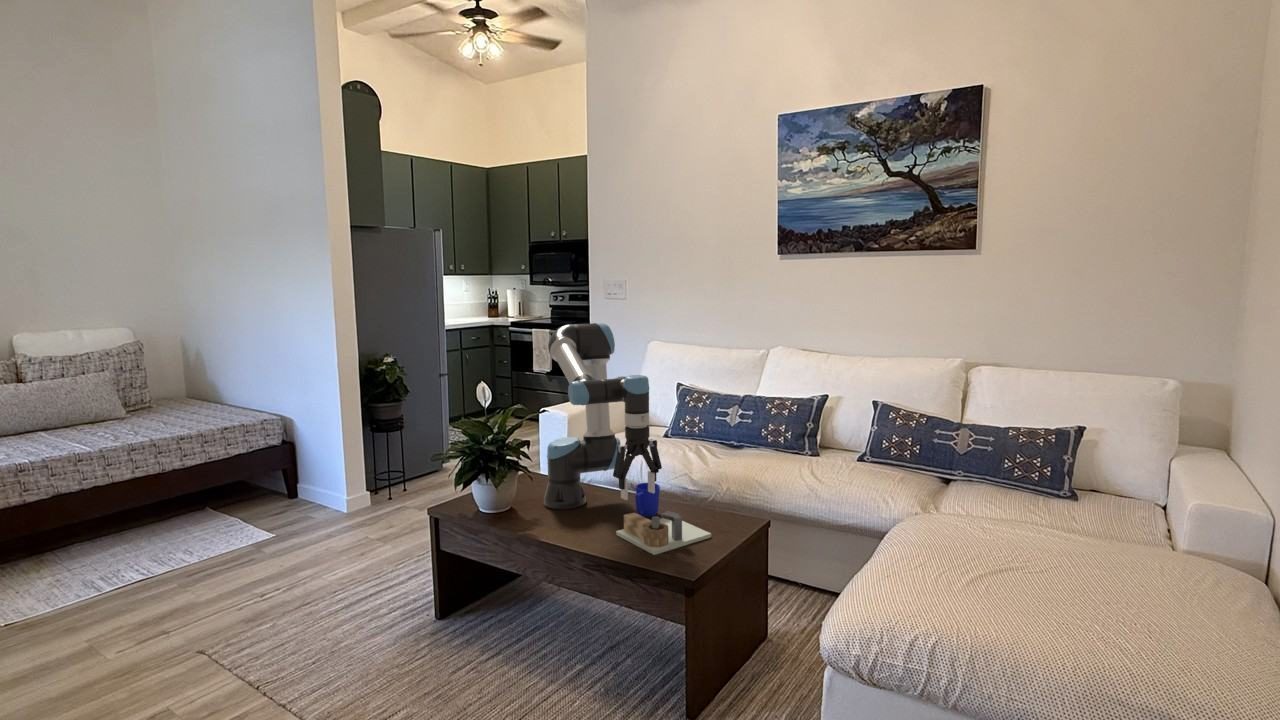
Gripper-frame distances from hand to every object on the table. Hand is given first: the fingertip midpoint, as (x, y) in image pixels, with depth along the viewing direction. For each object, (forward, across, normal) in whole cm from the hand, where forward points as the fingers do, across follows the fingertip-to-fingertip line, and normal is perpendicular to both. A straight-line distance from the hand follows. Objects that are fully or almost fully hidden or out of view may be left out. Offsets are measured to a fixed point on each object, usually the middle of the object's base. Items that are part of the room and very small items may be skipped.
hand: (638, 495), depth 217 cm
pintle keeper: (+14, +4, -9) cm, 17 cm away
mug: (+14, +13, +14) cm, 24 cm away
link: (+12, 0, -4) cm, 13 cm away
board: (+14, +7, -4) cm, 16 cm away
